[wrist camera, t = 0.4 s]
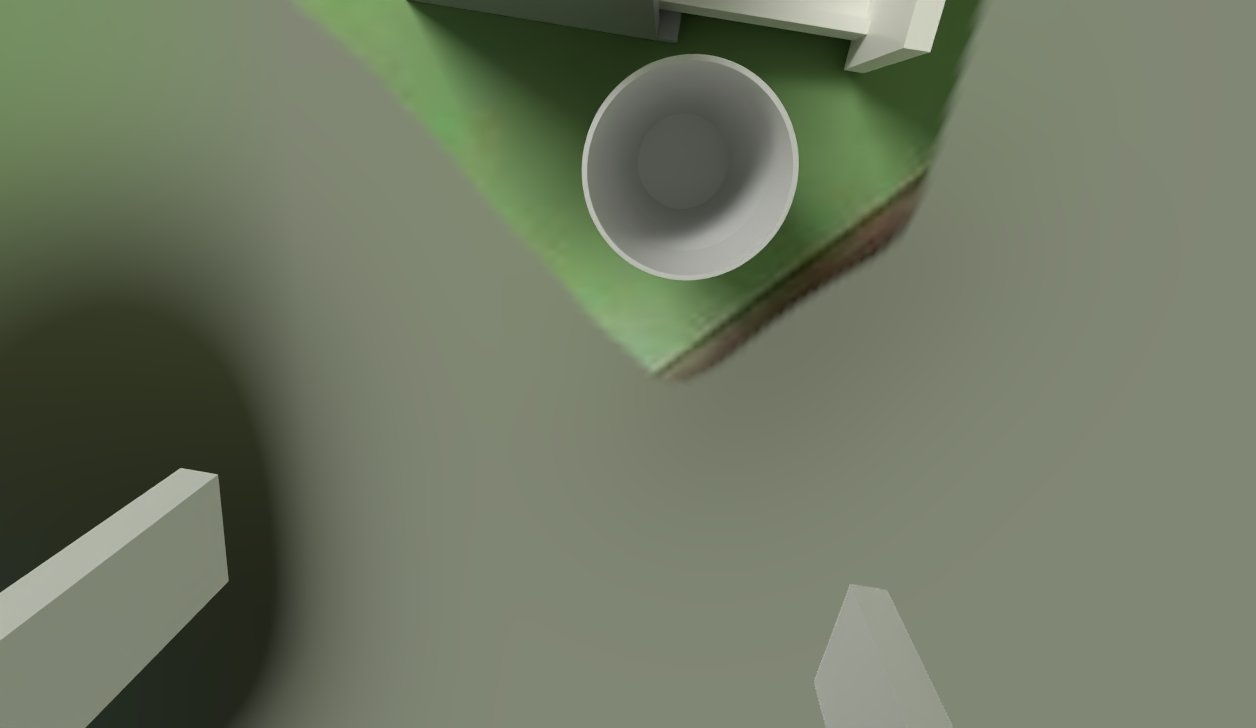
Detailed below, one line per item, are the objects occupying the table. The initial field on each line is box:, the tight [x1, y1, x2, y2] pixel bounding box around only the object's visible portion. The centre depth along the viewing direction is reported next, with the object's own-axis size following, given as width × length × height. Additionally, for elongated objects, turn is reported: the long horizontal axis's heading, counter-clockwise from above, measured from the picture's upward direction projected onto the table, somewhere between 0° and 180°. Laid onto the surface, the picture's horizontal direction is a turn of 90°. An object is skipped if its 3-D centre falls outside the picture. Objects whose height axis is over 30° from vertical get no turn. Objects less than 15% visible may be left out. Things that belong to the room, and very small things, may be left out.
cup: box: [582, 54, 799, 280], centre depth 27 cm, size 8×8×10 cm
